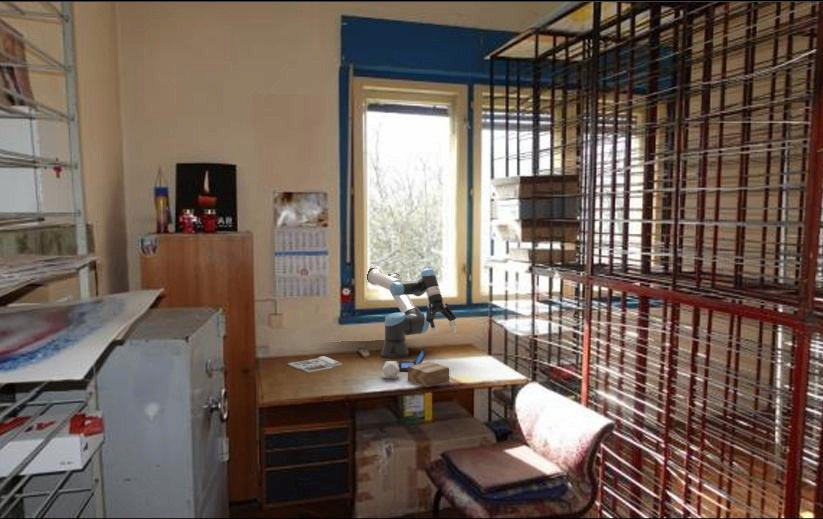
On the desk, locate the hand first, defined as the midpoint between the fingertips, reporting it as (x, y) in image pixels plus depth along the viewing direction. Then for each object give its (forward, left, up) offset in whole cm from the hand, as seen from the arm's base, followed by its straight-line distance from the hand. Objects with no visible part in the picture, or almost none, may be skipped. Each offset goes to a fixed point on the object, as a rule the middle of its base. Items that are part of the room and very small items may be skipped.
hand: (445, 332), depth 282 cm
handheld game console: (-6, -18, -18) cm, 26 cm away
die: (0, -37, -17) cm, 41 cm away
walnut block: (+15, -26, -17) cm, 35 cm away
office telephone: (-41, -54, -18) cm, 70 cm away
